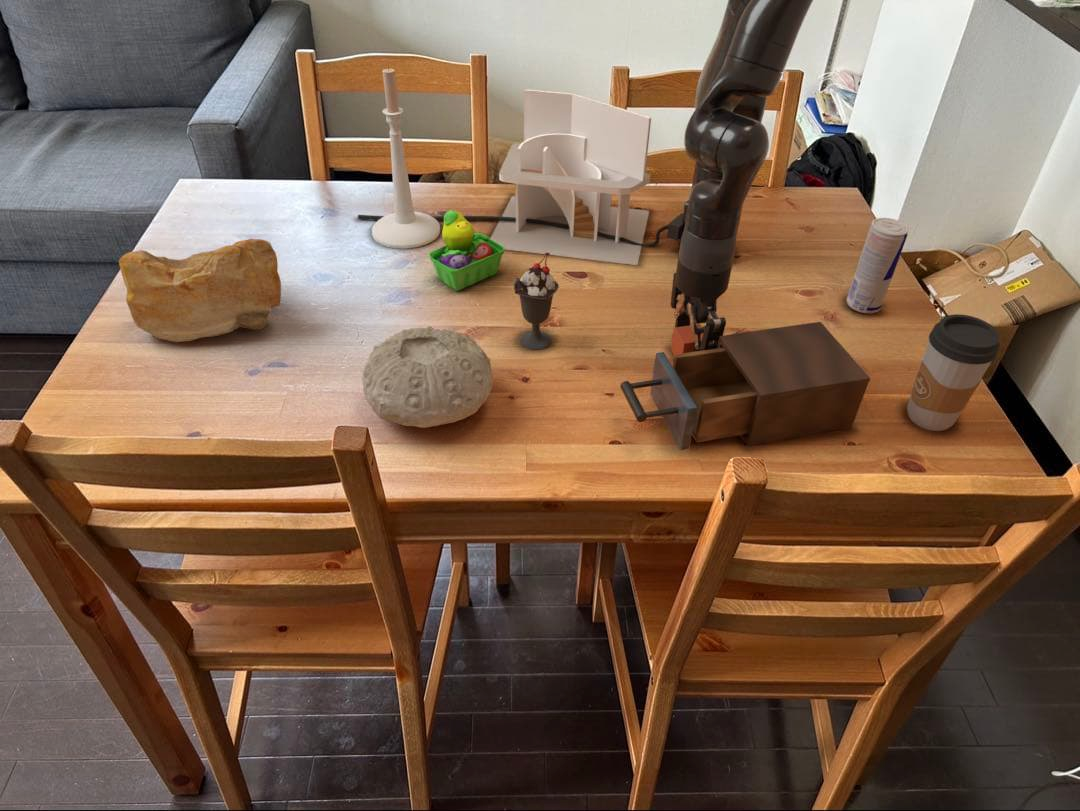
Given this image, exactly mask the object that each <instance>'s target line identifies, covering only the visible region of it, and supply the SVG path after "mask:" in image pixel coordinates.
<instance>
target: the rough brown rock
mask: <svg viewBox="0 0 1080 811" xmlns="http://www.w3.org/2000/svg"><path fill="white" fill-rule="evenodd" d="M118 266H119V269H120V273H121V276H122V279H123V282H124V285H125V288H126V296H125V300H126V304H127V306H128V309H129V312H130V315H131V318H132V321H133V323H134V324H135V326H136V327H137V328H139V329H140V330H142V331H144V332H147V333H148V334H150V335H151V336H153V337H155V338H157V339H160V340H165V341H168V342H175V343H181V342H191V341H195V340H198V339H202V338H207V337H217V336H222V335H223V334H224V335H225V334H229V333H232V332H233V331H234V330H237V329H239V328H244V329H247V330H251V331H253V330H254V331H255V330H262V329H264V328H265V327H267V324H268V320H269V316H270V313H271V310H272V309H274V308H275V307H279V306H280V305H281V302H282V300H281V299H282V281H281V277H280V275H279V272H278V270H279V269H278V268H279V267H278V266H279V264H278V257H277V253H276V251H275V250H274V248H273V246H272V244H271V242H270V241H268V240H265V239H261V238H248V239H244V240H239V241H236V242H234V243H233V244H229V245H224V246H222V247H219V248H216V249H215V250H210V251H201V252H199V253H194V254H191V255H190V256H188V257H186V258H183V259H175V258H168V257H166V256H156V255H153V254H152V253H151V252H149V251H147V250H143V249H140V250H133V251H130V252H129V251H128V252H126V253H125V254H124V255H122V256H121V257H120V259H118Z"/></svg>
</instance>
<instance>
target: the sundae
mask: <svg viewBox="0 0 1080 811" xmlns="http://www.w3.org/2000/svg"><path fill="white" fill-rule="evenodd" d="M549 254H550V253H545V254H544V256H543V258H542V259H541V260H540V261H539V262H538V263H537V262H535V263H533V265H532V267H529V268H528V269H526V270H525V272H524V273H523V274H522V276H520V277H518V276H515V279H516V280H515V281H514V283H513V290H514V294H515V295H518V297H519V300H520V301H519V302H520V307H521V312H522V316H523V318H524V320H525V321H527V322H528V323H529V324H531V330H529V331H526V332H524V333H522V335H521V336H520V338H519V342H520V345H521V346H523V347H524V348H526V349H528V350H532V351H540V350H543V349H546V348H547V347H549V346H550V345H551V343H552V337H551V335H550V334H549V333H547V332H545V331H541V329H540V325H541V324H543V323H544V322H545V321H546V320H548V318H549V316H550V313H551V308H552V302H553V298H554V295H555V294H556V292H557V291H558V289H559V287H560V286H559V283H558V282H557V281H556V280H555V278H554V276H553V275H552V274H551V273H550V272H551V269H550V267H548V266H547V259H548V256H550V255H549ZM544 259H545V262H544V266H542V265H541V263H542V262H543V261H544ZM541 266H542V267H541Z"/></svg>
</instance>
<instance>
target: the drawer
mask: <svg viewBox="0 0 1080 811" xmlns="http://www.w3.org/2000/svg"><path fill="white" fill-rule="evenodd" d="M619 387H620V389H621V392H622V393H623V395H624V397H625V399H626V402H627V403H628V405H629V407H630V409H631V411H632V413H633V415H634V417H635V419H636V421H637V422H638V423H644V422H645V421H646V420H647V419H651V418H656V417H662V419H663V420H664V422H665V424H666V426H667V428H668V429H669V431H670V433H671V435H672V437H673V439H674V441H675V442H676V444H677V446H678V448H679V450H680V451H686V450H689V449H690V446H691V441H692V437H693V438H694V440H695V442H696V443H702V442H708V441H713V440H719V439H725V438H731V437H732V438H733V437H737V436H738V437H739V436H740V435H743V434H748V431H749V427H750V423H751V419H752V415H753V411H754V408H755V404H756V400H757V397H758V396H757V395H756V394H755V392H754V391H753V389H752V388H751V386H750V385H749V383H748V382H747V381H746V379H745V378H744V376H743V375H742V373H741V372H740V371H739V369H738V368H737V366H736V365H735V363H734V362H733V360H732V359H731V358H730V356H729V355H728V353H727V352H726V350H725V349H724V348H717V349H710V350H703V351H697V352H690V353H683V354H676V355H675V356H674V355H673V362H672V363H671V361H670V360H669V358H668V356H667V355H666V353H665V351H661V352H655V356H654V362H653V370H652V378H651V379H650V380H644V381H637V382H630V381H629V380H624V381H622V382H621V383H620V386H619ZM648 387H650V392H649V394H650V396H651V398H652V400H653V402H654V403H655V406H656V407H657V410H656V409H655V410H650V411H649V410H648V411H645V409H644V406H643V405H642V403H641V401H640V400H639V397H638V396H637V394H636V392H635V390H636V389H641V388H642V389H643V388H648ZM634 389H635V390H634Z"/></svg>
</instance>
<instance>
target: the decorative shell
mask: <svg viewBox="0 0 1080 811" xmlns="http://www.w3.org/2000/svg"><path fill="white" fill-rule="evenodd" d="M361 380H362V386H363V395H364V397H365V399H366V401H367V403H368V404H369V406H370V407H371V409H372V411H373V412H374V413H375V414H376V416H377V417H378V418H379V419H383V420H386V421H388V422H392V423H394V424H398V425H402V426H405V427H417V428H423V429H424V428H431V427H437V426H440V425H446V424H453V423H455V422H456V423H457V422H459V421H461V420H464V419H466V418H468V417H470V416H472V415H474V414H476V413H477V412H478V411H479V410H480V408H481V407H482V406H483V405H484V404H485V403H487V402H486V401H487V400H488V397H489V395H490V394H491V391H492V388H493V370H492V364H491V359H490V358H489V357H488V355H487V353H486V352H485V350H484V349H482V348H481V346H479V344H478V343H477V342H476V341H475V340H474V339H473V338H470V336H469V334H464V335H463V334H461V333H459V332H458V331H450V330H447V329H439V328H434V327H432V326H428V327H426V328H423V327H413V328H408V329H402V330H400V331H399V332H397V333H394V334H393V335H391V336H389V337H388V338H385V340H383V341H381V342H380V343H379V344H378V345H374V346H373V349H372V352H371V353H370V354H369V356H368V357H367V359H366V362H365V365H364V368H363V371H362V376H361Z"/></svg>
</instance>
